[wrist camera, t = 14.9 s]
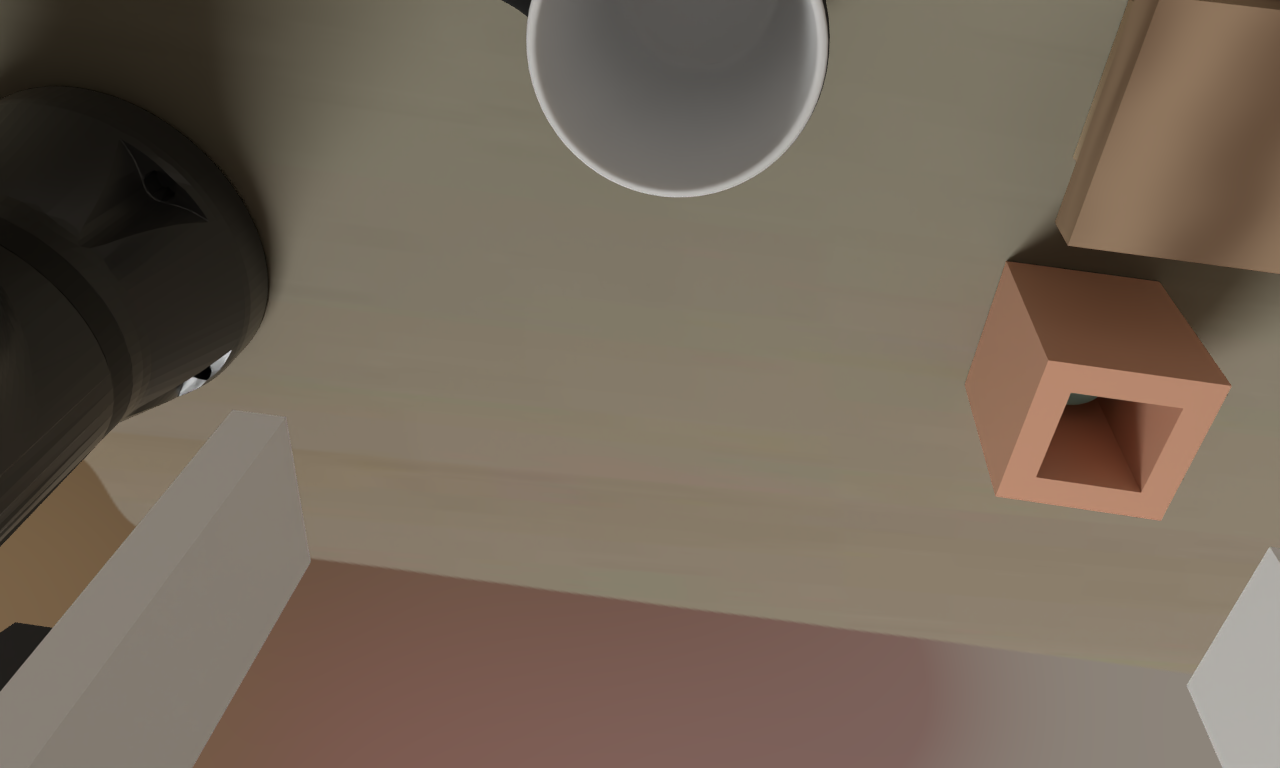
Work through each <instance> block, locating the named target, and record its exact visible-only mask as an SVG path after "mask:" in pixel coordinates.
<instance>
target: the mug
mask: <svg viewBox="0 0 1280 768" xmlns="http://www.w3.org/2000/svg"><path fill="white" fill-rule="evenodd" d="M502 1H504V2H506V3H508V4H510V5H511V6H513V7H515V8H516V9H518V10H519V11H521V12H522V13H523V14H525V15H526V16H527V17H528V20H527V32H526V48H527V59H528V67H529V72H530V76H531V81H532V84H533V87H534V90H535V93H536V97H537V99H538V101H539V104H540V106H541V108H542V110H543V112H544V114H545V116H546V118H547V120H548V121H549V123H550V125H551V126H552V128H553V129H554V131H555V132H556V134H557V135H558V136H559V138H560V139H561V140H562V141H563V143H564V144H565V145H566V146H567V147H568V148H569V149H570V150H571V151H572V152H573V153H574V154H575V156H577V157H578V158H579V159H580V160H581V161H582V162H584V163H585V164H586V165H587V166H588V167H590V168H591V169H593V170H594V171H595V172H597V173H598V174H600V175H602V176H603V177H605V178H607V179H609V180H610V181H613V182H615V183H617V184H619V185H621V186H623V187H626V188H629V189H632V190H635V191H638V192H642V193H646V194H650V195H656V196H663V197H694V196H703V195H707V194H712V193H717V192H720V191H723V190H726V189H729V188H732V187H734V186H737V185H739V184H741V183H743V182H745V181H747V180H749V179H751V178H753V177H754V176H756V175H757V174H759V173H761V172H762V171H764V170H765V169H766V168H768V167H769V166H770V165H771V164H773V163H774V162H775V161H776V160H777V159H778V158H779V157H781V156H782V155H783V154H784V153H785V152H786V151H787V150H788V148H789V147H790V146H791V145H792V144H793V142H794V141H795V140H796V139H797V137H798V136H799V135H800V133H801V132H802V130H803V129H804V127H805V126H806V124H807V122H808V120H809V118H810V117H811V115H812V113H813V111H814V109H815V106H816V104H817V102H818V100H819V97H820V94H821V91H822V88H823V85H824V80H825V76H826V72H827V65H828V58H829V38H830V34H829V18H828V12H827V5H826V0H502Z"/></svg>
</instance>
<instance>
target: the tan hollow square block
mask: <svg viewBox="0 0 1280 768" xmlns="http://www.w3.org/2000/svg"><path fill="white" fill-rule="evenodd" d="M965 388H966V391H967V395H968V399H969V402H970V406H971V409H972V413H973V417H974V420H975V424H976V427H977V431H978V435H979V438H980V442H981V445H982V449H983V453H984V456H985V460H986V464H987V467H988V471H989V474H990V478H991V482H992V485H993V489H994V492H995V496H998V497H1004V498H1011V499H1018V500H1025V501H1031V502H1038V503H1045V504H1052V505H1058V506H1065V507H1072V508H1079V509H1085V510H1092V511H1099V512H1106V513H1112V514H1119V515H1126V516H1133V517H1139V518H1146V519H1153V520H1160V521H1161V519H1162V518H1163V516H1164V514H1165V512H1166V510H1167V508H1168V506H1169V504H1170V502H1171V500H1172V499H1173V497H1174V495H1175V493H1176V491H1177V489H1178V487H1179V485H1180V483H1181V481H1182V480H1183V478H1184V476H1185V474H1186V472H1187V470H1188V468H1189V466H1190V464H1191V462H1192V461H1193V459H1194V457H1195V455H1196V453H1197V451H1198V449H1199V447H1200V445H1201V443H1202V441H1203V440H1204V438H1205V436H1206V434H1207V432H1208V430H1209V428H1210V426H1211V424H1212V422H1213V421H1214V419H1215V417H1216V415H1217V413H1218V411H1219V409H1220V407H1221V405H1222V403H1223V402H1224V400H1225V398H1226V396H1227V394H1228V392H1229V390H1230V388H1231V384H1230V383H1229V381H1228V380H1227V379H1226V377H1225V376H1224V374H1223V373H1222V371H1221V370H1220V368H1219V367H1218V366H1217V364H1216V363H1215V361H1214V360H1213V358H1212V357H1211V355H1210V354H1209V353H1208V351H1207V350H1206V348H1205V347H1204V345H1203V344H1202V342H1201V341H1200V340H1199V338H1198V337H1197V335H1196V334H1195V332H1194V331H1193V330H1192V328H1191V327H1190V325H1189V324H1188V322H1187V321H1186V319H1185V318H1184V317H1183V315H1182V314H1181V312H1180V311H1179V309H1178V308H1177V306H1176V305H1175V304H1174V302H1173V301H1172V299H1171V298H1170V296H1169V295H1168V293H1167V292H1166V291H1165V289H1164V288H1163V286H1162V285H1161V283H1160V282H1158V281H1151V280H1143V279H1136V278H1128V277H1121V276H1114V275H1106V274H1099V273H1091V272H1084V271H1076V270H1069V269H1061V268H1054V267H1046V266H1039V265H1032V264H1024V263H1017V262H1009V261H1006V263H1005V266H1004V269H1003V272H1002V275H1001V278H1000V281H999V284H998V287H997V290H996V293H995V296H994V299H993V302H992V305H991V308H990V311H989V314H988V317H987V320H986V323H985V326H984V329H983V332H982V335H981V338H980V341H979V344H978V347H977V350H976V353H975V356H974V359H973V361H972V364H971V367H970V370H969V373H968V376H967V379H966V382H965ZM1071 393H1077V394H1084V395H1091V396H1098V397H1097V398H1096V399H1094V400H1092V401H1090V402H1087V403H1084V404H1079V405H1066V403H1067V401H1068V399H1069V396H1070V394H1071Z"/></svg>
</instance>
